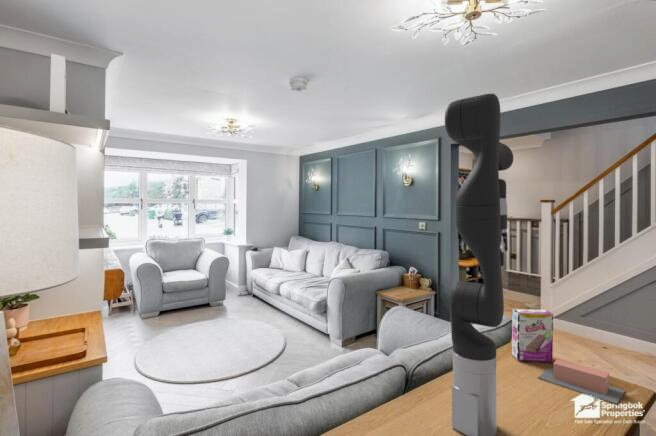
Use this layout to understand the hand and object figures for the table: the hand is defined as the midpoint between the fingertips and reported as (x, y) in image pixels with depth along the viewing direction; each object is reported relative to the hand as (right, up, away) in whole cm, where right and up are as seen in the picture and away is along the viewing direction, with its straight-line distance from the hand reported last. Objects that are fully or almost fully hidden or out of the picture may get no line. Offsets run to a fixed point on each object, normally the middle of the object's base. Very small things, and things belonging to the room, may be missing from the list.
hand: (493, 267), depth 100 cm
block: (+18, -30, -1) cm, 35 cm away
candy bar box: (+19, -33, +11) cm, 39 cm away
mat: (+22, -33, -6) cm, 40 cm away
